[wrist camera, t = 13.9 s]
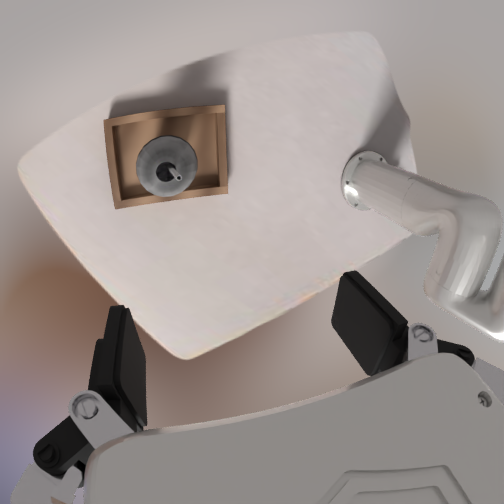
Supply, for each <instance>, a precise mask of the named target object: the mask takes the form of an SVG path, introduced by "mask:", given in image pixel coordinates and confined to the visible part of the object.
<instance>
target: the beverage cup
mask: <svg viewBox="0 0 504 504" xmlns="http://www.w3.org/2000/svg"><path fill="white" fill-rule="evenodd" d="M197 169H198V159H197V156H196V153H195V150H194V149H193V148H192V146H191V145H190V144H189V143H188V142H187V141H185V140H184V139H182V138H181V137H177V136H173V135H163V136H159V137H156V138H154V139H152V140H150V141H149V142H148V143H147V144H145V145H144V146H143V148H142V149H141V151H140V153H139V154H138V158H137V161H136V174H137V176H138V179H139V181H140V183H141V184H142V185H143V187H144V188H145V189H146V190H147V191H149V192H150V193H152V194H154V195H157V196H161V197H169V196H174V195H177V194H179V193H181V192H182V191H184V190H185V189H186V188H187V187H189V185H190V184H191V183H192V181H193V180H194V178H195V175H196V172H197Z"/></svg>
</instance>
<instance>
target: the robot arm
mask: <svg viewBox="0 0 504 504" xmlns="http://www.w3.org/2000/svg"><path fill="white" fill-rule="evenodd" d="M342 192H343V195H344V198H345V200H346V201H347V203H348V204H349V205H351V206H352V207H354V208H355V209H358V210H362V211H365V210H370V209H372V210H374V211H376V212H378V213H379V214H381V215H383V216H385V217H386V218H388V219H390V220H391V221H393V222H395V223H396V224H398V225H400V226H401V227H403V228H405V229H406V230H408V231H410V232H411V233H413V234H415V235H418V236H431V235H435V234H438V233H439V236H438V240H437V243H436V247H435V250H434V253H433V255H432V258H431V261H430V264H429V266H428V269H427V272H426V275H425V278H424V283H423V289H424V292H425V294H426V296H427V297H428V299H429V300H430V301H431V302H433V303H434V304H435V305H436V306H438V307H440V308H441V309H442V310H444V311H446V312H447V313H449V314H451V315H453V316H454V317H456V318H458V319H459V320H461V321H463V322H464V323H466V324H468V325H469V326H471V327H473V328H474V329H476V330H477V331H479V332H481V333H482V334H484V335H486V336H487V337H489V338H491V339H493V340H495V341H497V342H500V343H504V255H503V258H502V260H501V263H500V265H499V267H498V270H497V272H496V275H495V277H494V279H493V281H492V283H491V286H490V288H489V289H488V290H486V291H484V290H480V288H481V286H482V284H483V281H484V279H485V277H486V274H487V272H488V270H489V268H490V266H491V263H492V261H493V258H494V256H495V253H496V250H497V248H498V245H499V242H500V238H501V233H502V225H503V224H502V223H503V221H502V216H501V212H500V210H499V208H498V206H497V205H496V204H495V203H494V202H492V201H491V200H489V199H487V198H485V197H483V196H480V195H477V194H473V193H469V192H465V191H461V190H458V189H454V188H451V187H448V186H446V185H443V184H440V183H437V182H435V181H432V180H430V179H427V178H425V177H422V176H420V175H417V174H414V173H412V172H409V171H406V170H404V169H401V168H398V167H395V166H392V165H389V164H388V163H387V161H386V160H385V159H384V157H383V156H381V155H380V154H378V153H376V152H373V151H363V152H360V153H358V154H356V155H355V156H354V157H353V158H352V159H351V160H350V161H349V162H348V164H347V165H346V167H345V170H344V172H343V176H342ZM331 323H332V326H333V328H334V329H335V330H336V332H337V333H338V335H339V336H340V337H341V339H342V340H343V342H344V343H345V345H346V346H347V347H348V349H349V350H350V351H351V353H352V354H353V356H354V357H355V359H356V360H357V361H358V363H359V364H360V366H361V367H362V369H363V370H364V371H365V373H366V374H367V375H370V376H371V377H368V378H366V379H363V380H361V381H358V382H356V383H353V384H350V385H347V386H345V387H342V388H339V389H336V390H333V391H330V392H327V393H324V394H321V395H318V396H315V397H312V398H308V399H305V400H302V401H298V402H295V403H291V404H287V405H284V406H280V407H276V408H272V409H268V410H264V411H260V412H255V413H251V414H246V415H241V416H236V417H231V418H226V419H220V420H214V421H208V422H202V423H196V424H188V425H181V426H172V427H165V428H158V429H149V430H145V431H143V426H147V410H146V409H147V408H146V359H145V353H144V350H143V348H142V345H141V342H140V340H139V337H138V333H137V331H136V328H135V325H134V322H133V318H132V315H131V312H130V309H129V308H125V307H124V305H118V306H111V307H110V309H109V314H108V319H107V324H106V328H105V334H104V338H103V339H98V340H97V342H96V345H95V351H94V356H93V361H92V367H91V373H90V379H89V386H88V390H86V391H81V392H79V393H77V394H76V395H74V396H73V398H72V399H71V400H70V402H69V406H68V410H69V414H70V416H68V417H67V418H66V419H65V420H64V421H62V422H61V423H60V424H59V425H57V426H56V427H55V428H54V429H53V430H51V431H50V432H49V433H48V434H47V435H45V436H44V437H43V438H42V439H40V440H39V441H38V442H37V443H36V445H35V447H34V450H33V457H34V460H35V461H34V463H33V464H32V465H31V464H29V465H28V466H27V468H26V470H25V472H24V473H23V475H22V476H21V478H20V480H19V482H18V483H17V485H16V487H15V489H14V490H13V492H12V494H11V498H10V499H11V504H72V503H73V500H74V499H75V497H76V496H75V495H74V493H75V491H76V489H77V488H80V487H83V486H84V491H83V493H84V495H83V497H84V504H504V371H502V370H501V369H499V368H497V367H495V366H493V365H491V364H489V363H487V362H485V361H483V360H481V359H479V358H476V360H475V358H474V355H473V353H472V352H471V350H470V349H468V348H467V347H465V346H463V345H459V344H454V343H450V342H446V341H442V340H439V339H437V337H436V333H435V332H434V330H433V329H432V328H431V327H429V326H428V325H426V324H422V323H415V324H412V325H411V326H410V327H408V326H407V323H408V321H407V320H406V319H405V318H404V317H403V316H402V315H401V314H400V313H399V312H398V311H397V310H396V309H395V308H394V307H393V306H392V305H391V304H390V303H389V302H388V301H387V300H386V299H385V298H384V297H383V296H382V295H381V294H380V293H379V292H378V291H377V290H376V289H375V288H374V287H373V286H372V285H371V284H370V283H369V282H368V281H367V280H366V279H365V278H364V277H363V276H362V275H361V274H359V273H358V272H357V271H350V272H345V273H344V274H343V276H341V278H340V282H339V287H338V292H337V296H336V301H335V306H334V310H333V315H332V319H331Z"/></svg>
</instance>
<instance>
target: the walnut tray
mask: <svg viewBox="0 0 504 504" xmlns="http://www.w3.org/2000/svg"><path fill="white" fill-rule="evenodd" d="M104 132H105V143H106V152H107V160H108V168H109V175H110V182H111V188H112V194H113V200H114V206H115V209H120V208H126V207H132V206H138V205H144V204H151V203H157V202H164V201H171V200H179V199H186V198H194V197H202V196H210V195H219V194H228V180H227V155H226V126H225V105H211V106H196V107H185V108H175V109H166V110H158V111H151V112H144V113H138V114H132V115H126V116H121V117H115V118H110V119H106V120H104ZM163 135H173V136H177V137H181V138H182V139H184V140H185V141H187V142H188V143H189V144H190V145H191V146H192V148H193V149H194V150H195V153H196V156H197V159H198V169H197V172H196V175H195V178H194V180H193V181H192V183H191V184H190V185H189V187H187V188H186V189H185V190H184V191H182V192H181V193H179V194H177V195H174V196H169V197H161V196H157V195H154V194H152V193H150V192H149V191H147V190H146V189H145V188H144V187H143V185H142V184H141V183H140V181H139V179H138V176H137V174H136V161H137V158H138V154H139V153H140V151H141V149H142V148H143V146H144V145H145V144H147V143H148V142H149V141H150V140H152V139H154V138H156V137H159V136H163Z"/></svg>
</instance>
